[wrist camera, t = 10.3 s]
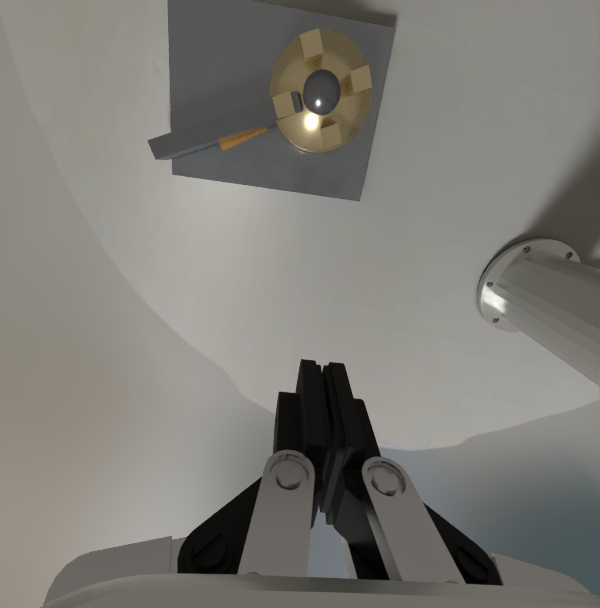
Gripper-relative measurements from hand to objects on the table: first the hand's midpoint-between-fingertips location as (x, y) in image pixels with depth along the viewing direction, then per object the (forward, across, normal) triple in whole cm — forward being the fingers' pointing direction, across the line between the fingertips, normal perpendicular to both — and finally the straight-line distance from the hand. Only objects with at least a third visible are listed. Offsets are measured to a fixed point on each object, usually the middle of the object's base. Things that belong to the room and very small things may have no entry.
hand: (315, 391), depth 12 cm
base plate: (+27, +4, -13) cm, 30 cm away
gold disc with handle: (+25, +5, -12) cm, 28 cm away
